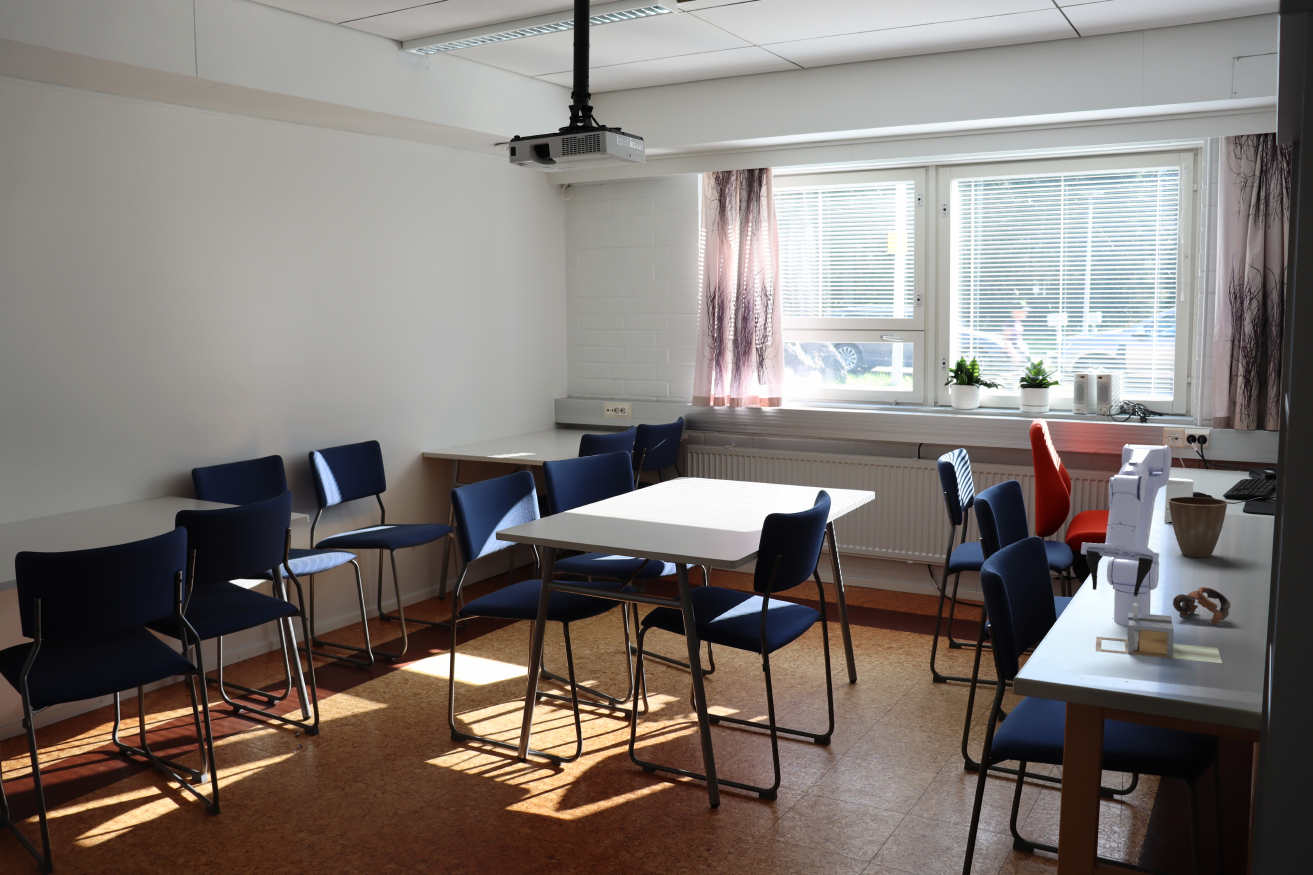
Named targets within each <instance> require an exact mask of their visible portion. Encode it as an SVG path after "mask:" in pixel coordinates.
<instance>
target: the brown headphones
mask: <svg viewBox="0 0 1313 875" xmlns="http://www.w3.org/2000/svg"><path fill="white" fill-rule="evenodd" d="M1205 594H1206V595H1205ZM1210 599H1213V600H1218V601H1219V602H1220V608H1219V609H1217V608H1218V604H1217V603H1215V602H1213V601H1211V600H1210ZM1196 601H1197V602H1196ZM1195 603H1197V604H1199V605H1201V607H1203V608H1204V609H1205V608H1206V609H1207V610H1208V611H1209V612H1210V613H1212V614H1213V617H1212V618H1211V620H1210V622H1211V624H1213V625H1215V624H1217V625H1218V624H1219V623H1221V621H1224V620H1225V619H1226V618H1228V616H1229V615H1230V612H1229V611H1230V608H1231V602H1230V601H1229V599H1228V598H1227V597H1226V596H1225V595H1224V594H1222V593H1221V592H1219V591H1218V590H1215V589H1213V588H1210V587H1207V586H1202V587H1199V588H1198V590H1193V591H1192V592H1189V593H1188V594H1183V593H1182V594H1178V595H1176V596H1175V597H1174V598H1173V600H1172V606H1173V608H1174V610H1176V612H1178V613H1179V617H1180V618H1182V617H1184V618H1188V617H1189V614H1195V612H1196V610H1197V608H1198V605H1197V604H1195Z"/></svg>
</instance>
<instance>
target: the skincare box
mask: <svg viewBox="0 0 1313 875" xmlns="http://www.w3.org/2000/svg"><path fill="white" fill-rule="evenodd" d="M1193 495H1194V479H1191V478H1189V479H1188V478H1179V477H1177V478H1175V477H1169V480H1168V482H1167V485H1165V502H1164V505H1165V506H1164V517H1163V518H1164V520H1163V521H1164V523H1165V522H1172V520H1171V515H1170V508H1169V499H1170V498H1176V497H1194V496H1193Z"/></svg>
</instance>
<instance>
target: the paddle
mask: <svg viewBox="0 0 1313 875" xmlns="http://www.w3.org/2000/svg"><path fill="white" fill-rule="evenodd" d="M1133 621H1138V604H1137V603H1134V606H1133ZM1138 641H1139V630H1136V629H1134V650H1137V648H1138Z"/></svg>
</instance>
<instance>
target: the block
mask: <svg viewBox="0 0 1313 875" xmlns="http://www.w3.org/2000/svg"><path fill="white" fill-rule="evenodd" d="M1138 641H1139V643H1138V644H1139V651H1141V652H1152V653H1162V654H1167V632H1159V631H1148V630H1138Z"/></svg>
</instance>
